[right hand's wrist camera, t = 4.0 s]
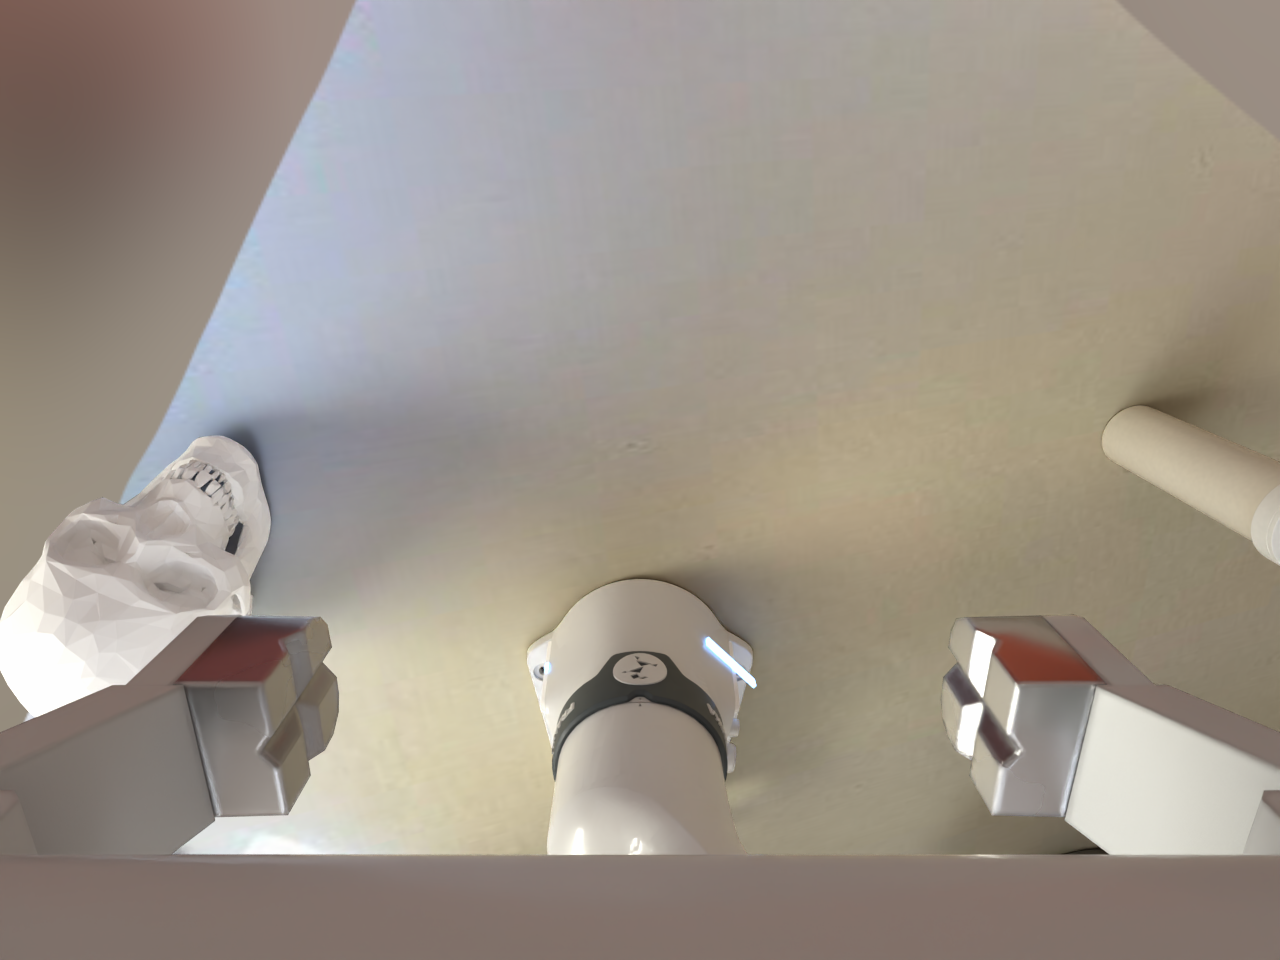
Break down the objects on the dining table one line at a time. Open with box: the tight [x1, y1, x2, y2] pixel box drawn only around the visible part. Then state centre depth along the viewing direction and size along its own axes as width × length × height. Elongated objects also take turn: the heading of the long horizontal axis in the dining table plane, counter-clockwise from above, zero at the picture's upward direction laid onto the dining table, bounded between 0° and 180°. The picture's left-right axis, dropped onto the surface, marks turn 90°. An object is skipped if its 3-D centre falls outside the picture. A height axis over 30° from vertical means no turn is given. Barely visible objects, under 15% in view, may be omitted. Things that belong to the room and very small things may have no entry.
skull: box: [0, 435, 271, 717], centre depth 55 cm, size 13×22×16 cm, turn 156°
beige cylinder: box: [1102, 405, 1280, 542], centre depth 51 cm, size 5×5×17 cm
